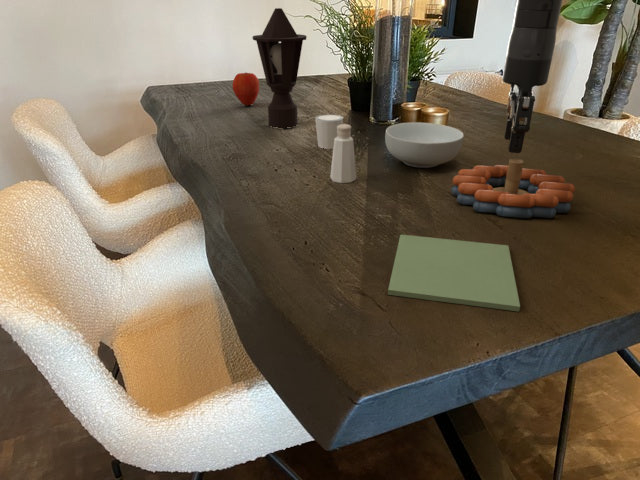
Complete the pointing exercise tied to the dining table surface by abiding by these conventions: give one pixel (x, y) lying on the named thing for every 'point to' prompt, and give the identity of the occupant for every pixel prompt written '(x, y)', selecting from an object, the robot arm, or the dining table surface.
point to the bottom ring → (510, 210)
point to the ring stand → (513, 178)
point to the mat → (454, 272)
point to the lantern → (280, 67)
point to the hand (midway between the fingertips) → (512, 145)
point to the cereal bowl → (423, 143)
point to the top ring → (546, 196)
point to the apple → (246, 87)
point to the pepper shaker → (343, 156)
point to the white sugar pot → (327, 129)
